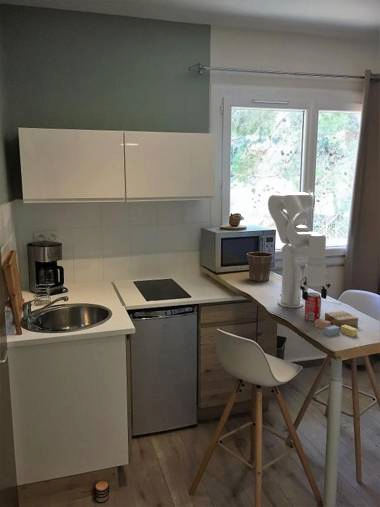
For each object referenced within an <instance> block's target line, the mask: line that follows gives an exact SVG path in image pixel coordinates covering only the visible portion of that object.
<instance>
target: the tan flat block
mask: <svg viewBox="0 0 380 507" xmlns="http://www.w3.org/2000/svg"><path fill="white" fill-rule="evenodd" d="M324 320H326V321H330V322H331V326H333V325H335V326H338V327H340V330H341V326H342V325H348V326H351V327H353V328H358V324H359V317H356V316H355V315H353V314H351V313H349V312H347V311H345V310H340V311H332V312H325V313H324Z"/></svg>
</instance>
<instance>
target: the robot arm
mask: <svg viewBox="0 0 380 507" xmlns="http://www.w3.org/2000/svg"><path fill="white" fill-rule="evenodd" d="M313 204H314V201H313V197H312V196H311V194H310V193H308V192H289V193H274V194H271V195H270V196H269V198H268V200H267V207H268V212H269V214H270V216H271V218H272V220H273V221H274V224H275V227H276V230H277V233H278V236H279V237H278V238H279V239H280V241H281V242H282V244H284V245H282V247H281V259H282V276H281V280H282V281H281V293H280V294H279V296H280V299H278V301H277V304H278V305H279V306H280V307H283V308H291V309H295V308H296V309H297V308H298V309H299V308H301V307H304V302H303V301H302V300H304V301H305V300H307V299H308V293H309V291H308V290H309V288H320V287H321V291H320V297H321V299H324V300H326V299H327V293H328V290H329V288H330V287H331V285H332V283H333V279H331V278H330V277H328V276H327V274H328V271H327V270H328V269H327V266H326V262H328V260H327V258H326V247H327V246H326V242H327V237H326V235H324V234H323V233H319V232H316V231H311V229H310V227H308V226H307V225H304V223H305V222H306V221H307V220H308V216H309V215H308V213H307V210H310V209H311V208H312V207H313ZM284 210H285V211H284ZM301 262H306V264H304V268H303V270H302V267H301V266H300V264H299V263H301ZM301 298H302V300H301Z"/></svg>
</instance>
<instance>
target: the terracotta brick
mask: <svg viewBox="0 0 380 507" xmlns="http://www.w3.org/2000/svg"><path fill="white" fill-rule="evenodd" d="M328 326H332V325H331V322H330V321H326V320H325V319H321V318H320V319H316V320H315V321H314V327H316V328H320V329H323V330H324V327H328Z"/></svg>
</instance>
